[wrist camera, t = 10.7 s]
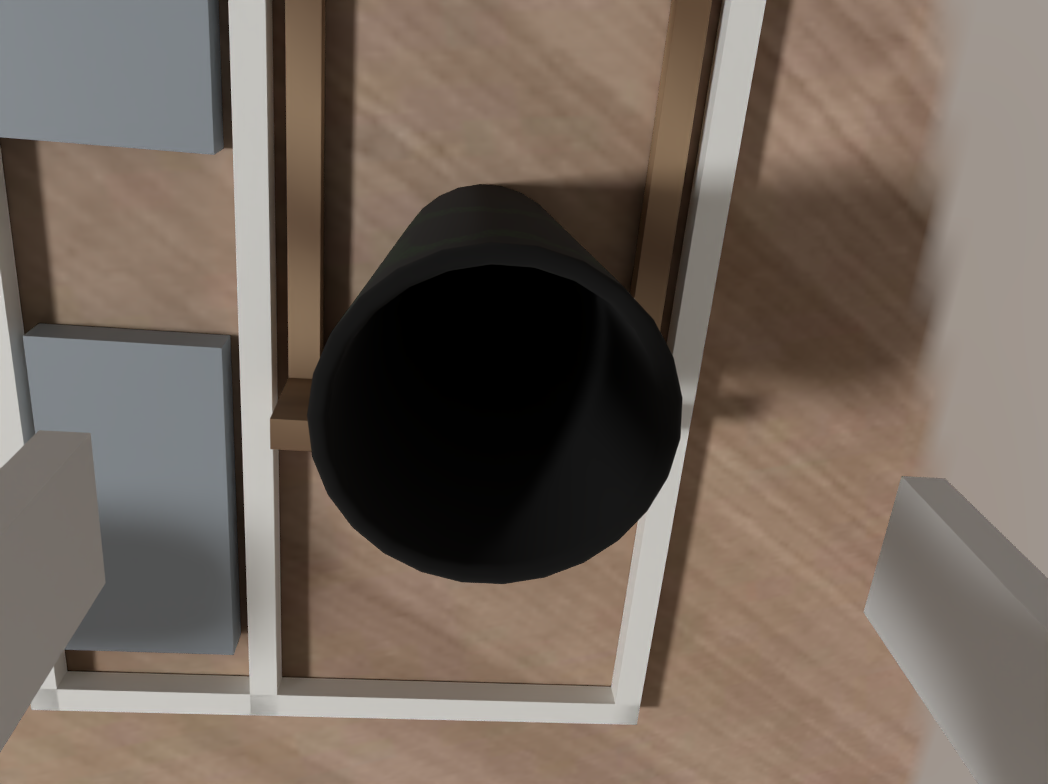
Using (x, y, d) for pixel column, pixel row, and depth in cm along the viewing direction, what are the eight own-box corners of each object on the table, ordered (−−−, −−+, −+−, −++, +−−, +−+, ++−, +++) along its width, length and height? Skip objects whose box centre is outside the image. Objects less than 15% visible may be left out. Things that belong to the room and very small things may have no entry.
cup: (616, 161, 29) (714, 262, 18) (585, 386, 31) (654, 594, 20) (367, 139, 28) (307, 229, 17) (360, 371, 31) (305, 578, 20)
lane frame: (-118, -433, 22) (-148, -456, 21) (809, -307, 24) (826, -321, 23) (43, 691, 35) (29, 713, 34) (632, 706, 37) (637, 728, 36)
